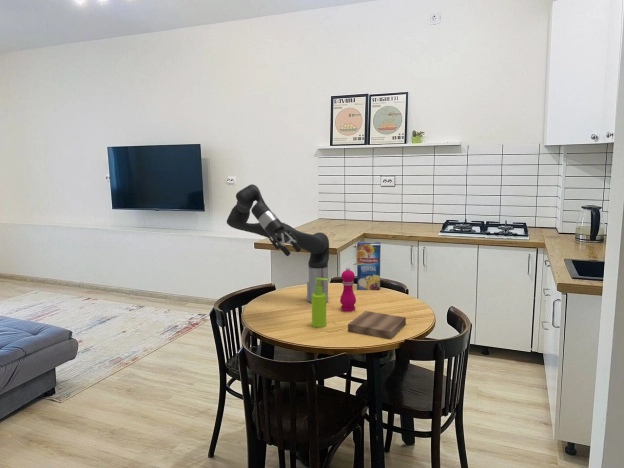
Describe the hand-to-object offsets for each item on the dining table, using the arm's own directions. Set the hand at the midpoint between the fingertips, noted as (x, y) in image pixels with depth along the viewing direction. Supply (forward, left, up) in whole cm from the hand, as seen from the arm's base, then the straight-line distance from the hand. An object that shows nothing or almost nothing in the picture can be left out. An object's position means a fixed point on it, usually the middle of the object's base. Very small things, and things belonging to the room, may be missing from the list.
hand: (294, 252), depth 194 cm
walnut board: (+34, +8, -30) cm, 46 cm away
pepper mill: (+14, +23, -30) cm, 40 cm away
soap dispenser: (+12, 0, -30) cm, 32 cm away
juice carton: (+9, +60, -30) cm, 68 cm away
